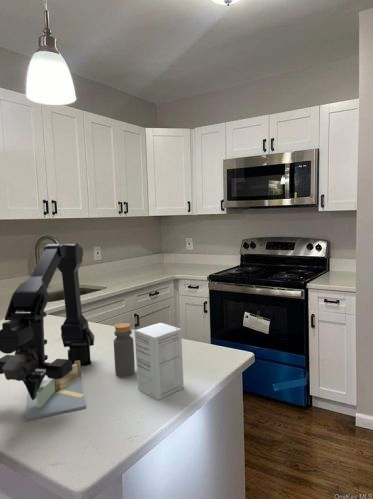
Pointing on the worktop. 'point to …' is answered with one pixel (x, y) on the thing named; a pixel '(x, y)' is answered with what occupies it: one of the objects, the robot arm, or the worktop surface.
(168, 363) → the supplement box
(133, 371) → the bottle
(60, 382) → the wooden wall with posts
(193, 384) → the worktop surface
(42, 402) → the fence panel
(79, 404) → the board
